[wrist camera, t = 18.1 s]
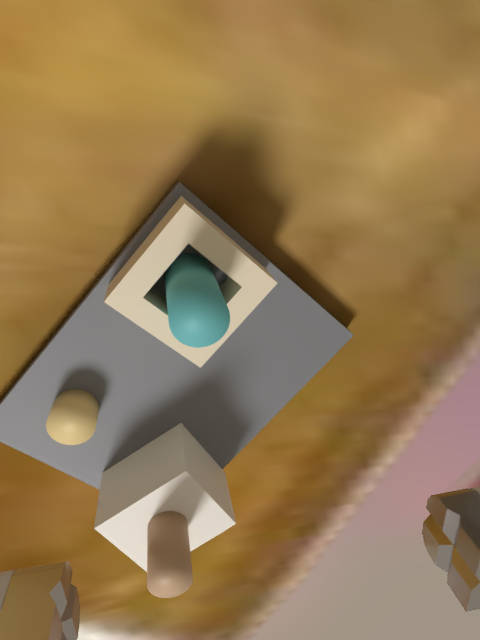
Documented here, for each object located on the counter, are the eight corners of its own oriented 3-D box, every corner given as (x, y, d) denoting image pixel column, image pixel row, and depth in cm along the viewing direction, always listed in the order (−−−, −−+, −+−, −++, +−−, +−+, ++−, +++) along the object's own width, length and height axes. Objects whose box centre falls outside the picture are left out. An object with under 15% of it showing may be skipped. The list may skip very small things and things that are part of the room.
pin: (197, 306, 29) (210, 356, 22) (155, 285, 28) (157, 332, 21) (221, 267, 28) (241, 308, 22) (179, 244, 27) (188, 280, 21)
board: (168, 511, 37) (170, 555, 33) (-15, 420, 31) (-39, 461, 27) (347, 328, 33) (372, 354, 29) (178, 180, 27) (183, 189, 23)
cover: (151, 518, 35) (151, 635, 27) (102, 472, 33) (85, 587, 24) (224, 472, 35) (247, 577, 27) (181, 422, 32) (191, 522, 24)
